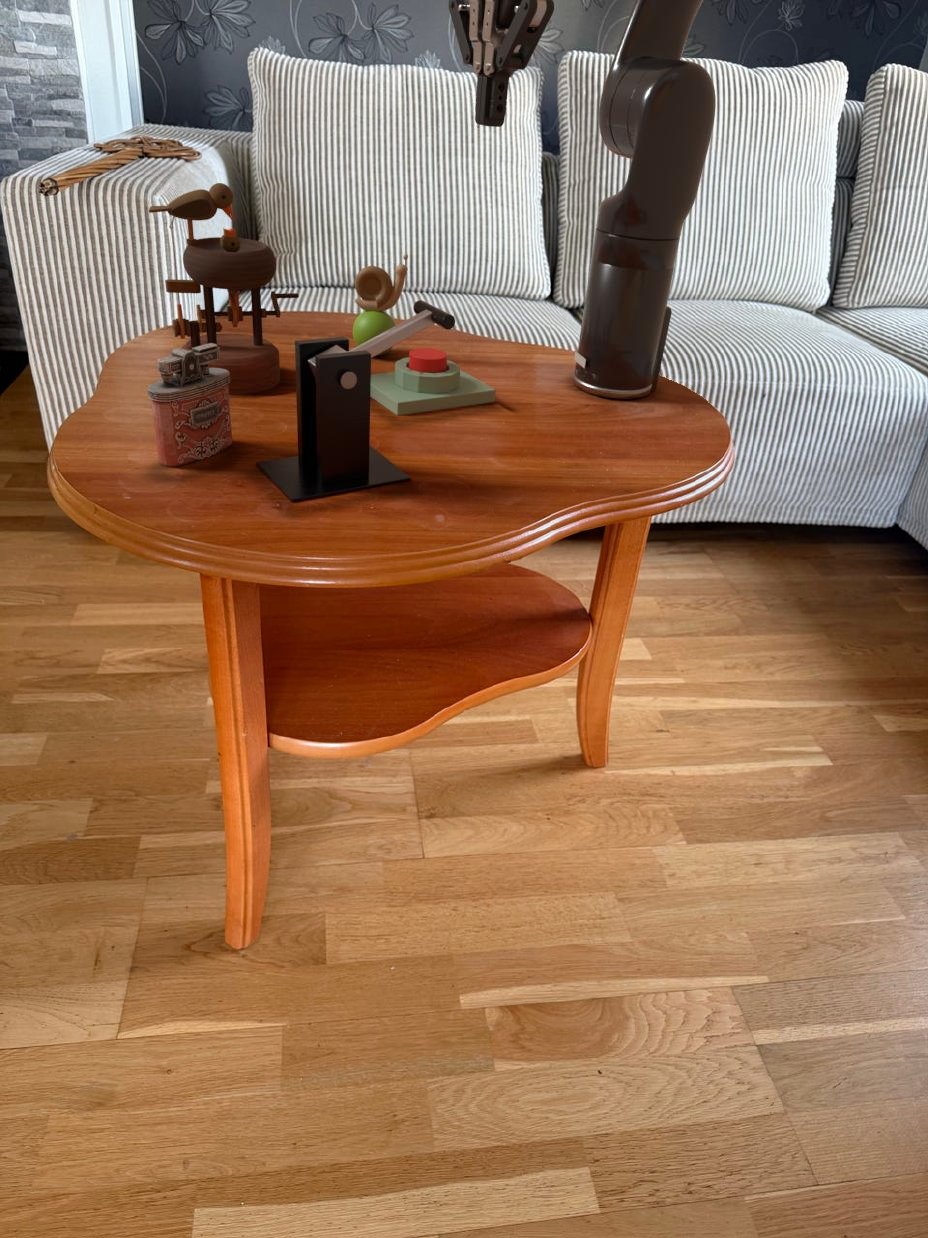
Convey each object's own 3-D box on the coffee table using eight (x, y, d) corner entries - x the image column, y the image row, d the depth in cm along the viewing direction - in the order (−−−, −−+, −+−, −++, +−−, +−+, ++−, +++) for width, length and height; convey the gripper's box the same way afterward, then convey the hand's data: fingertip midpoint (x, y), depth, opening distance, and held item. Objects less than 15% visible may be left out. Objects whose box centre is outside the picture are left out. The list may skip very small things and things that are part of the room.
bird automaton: (185, 402, 89) (157, 184, 79) (158, 378, 97) (130, 178, 88) (323, 387, 96) (314, 185, 87) (287, 365, 104) (275, 179, 95)
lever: (428, 316, 76) (421, 290, 74) (458, 332, 72) (451, 305, 71) (310, 380, 73) (300, 354, 71) (336, 399, 69) (325, 373, 68)
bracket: (369, 456, 81) (371, 328, 75) (410, 490, 76) (417, 355, 69) (256, 474, 76) (248, 338, 70) (292, 512, 71) (287, 368, 64)
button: (434, 362, 95) (435, 346, 94) (453, 373, 93) (454, 357, 92) (402, 365, 93) (402, 349, 92) (420, 377, 91) (421, 360, 90)
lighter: (176, 481, 74) (163, 364, 68) (148, 470, 75) (133, 354, 70) (244, 454, 80) (236, 344, 74) (217, 444, 81) (208, 335, 75)
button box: (451, 383, 101) (453, 349, 99) (494, 409, 95) (497, 373, 93) (357, 395, 95) (358, 358, 93) (397, 423, 89) (398, 385, 87)
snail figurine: (402, 363, 106) (406, 259, 99) (349, 359, 106) (350, 254, 99) (405, 350, 110) (409, 249, 104) (355, 346, 110) (356, 245, 104)
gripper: (599, -127, 66) (567, 135, 75) (501, -113, 75) (483, 119, 84) (518, -145, 62) (495, 132, 71) (426, -128, 71) (416, 116, 80)
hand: (489, 125), depth 78 cm, fingers closed
